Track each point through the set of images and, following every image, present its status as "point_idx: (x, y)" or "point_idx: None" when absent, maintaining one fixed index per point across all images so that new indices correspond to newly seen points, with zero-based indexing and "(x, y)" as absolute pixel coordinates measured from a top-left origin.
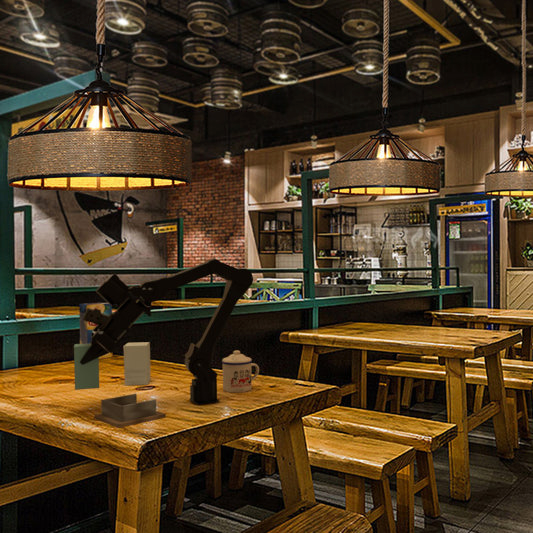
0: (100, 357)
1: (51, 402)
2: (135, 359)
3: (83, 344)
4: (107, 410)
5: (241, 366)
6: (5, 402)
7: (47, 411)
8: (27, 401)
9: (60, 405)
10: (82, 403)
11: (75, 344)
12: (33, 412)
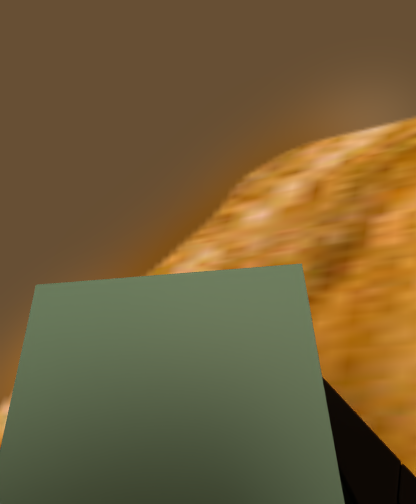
0: None
1: (389, 244)
2: None
3: (228, 416)
4: None
5: None
6: (400, 123)
7: (261, 252)
8: (411, 173)
9: (338, 279)
10: (361, 356)
11: (267, 279)
12: (258, 217)
